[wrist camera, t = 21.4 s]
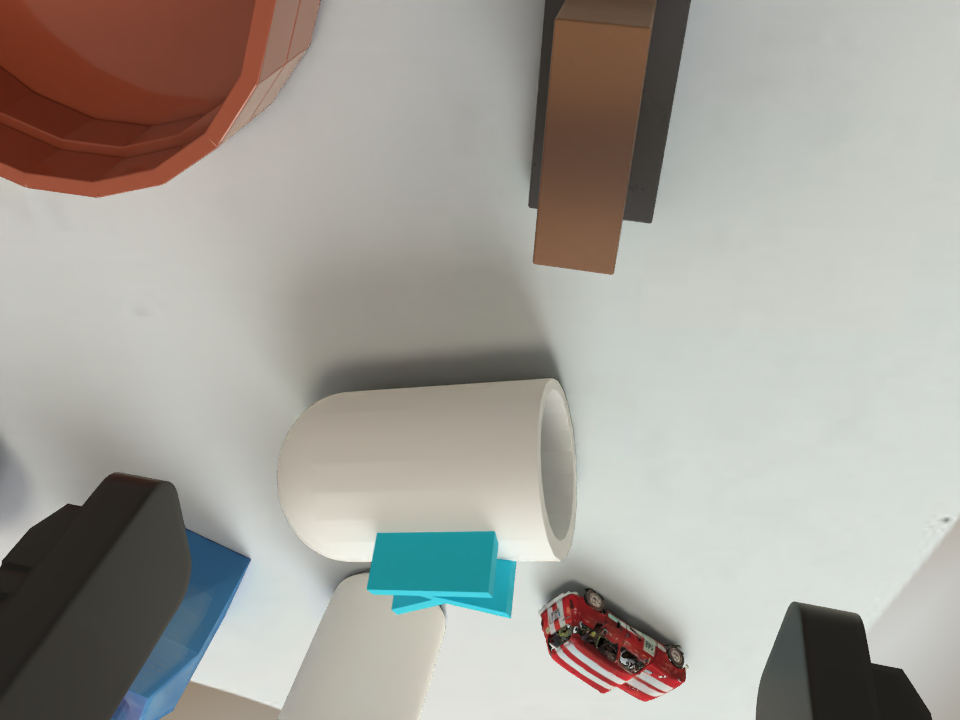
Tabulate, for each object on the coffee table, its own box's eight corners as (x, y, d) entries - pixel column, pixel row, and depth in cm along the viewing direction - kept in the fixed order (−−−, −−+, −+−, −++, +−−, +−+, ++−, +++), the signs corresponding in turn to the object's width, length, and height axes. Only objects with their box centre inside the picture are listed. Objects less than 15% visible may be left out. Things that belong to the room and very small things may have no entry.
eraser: (556, -76, 27) (517, -29, 21) (701, -63, 26) (700, -13, 21) (532, 194, 32) (497, 288, 26) (653, 209, 31) (642, 310, 26)
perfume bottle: (250, 559, 48) (137, 764, 38) (223, 617, 51) (113, 817, 42) (146, 510, 47) (4, 705, 38) (127, 572, 51) (-8, 765, 41)
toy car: (649, 680, 47) (646, 734, 44) (532, 603, 45) (523, 654, 42) (697, 653, 44) (697, 708, 42) (577, 571, 43) (569, 623, 40)
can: (370, 548, 45) (281, 764, 35) (471, 612, 46) (410, 837, 37) (314, 603, 49) (219, 813, 39) (408, 661, 50) (339, 877, 40)
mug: (214, 573, 32) (527, 573, 29) (269, 365, 37) (543, 343, 34) (344, 654, 42) (592, 662, 38) (374, 480, 46) (597, 473, 43)
